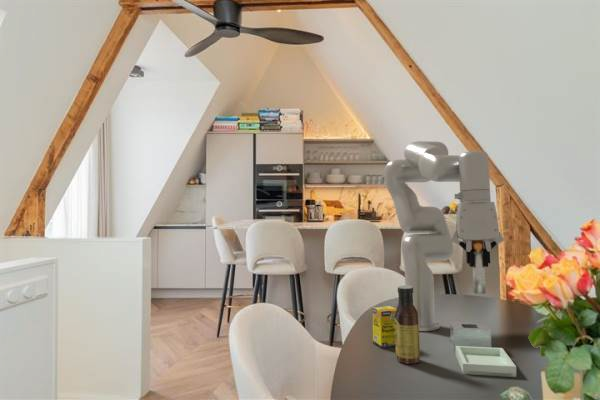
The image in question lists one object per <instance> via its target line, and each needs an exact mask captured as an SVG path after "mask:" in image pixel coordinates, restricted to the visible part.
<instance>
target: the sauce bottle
mask: <svg viewBox="0 0 600 400" xmlns="http://www.w3.org/2000/svg"><path fill="white" fill-rule="evenodd" d="M397 293H398V294H397V295H398V304H397V307H396V309H397V310H396V313H395V341H396V347H395V354H396V359H397V362H400V363H402V364H407V365H414V364H417V363H419V362H420V355H421V346H420V345H421V344H420V343H421V341H420V331H419V322H418V312H417V310H416V308H415V307H414V305H413V287H412V286H405V285H399V286H397Z"/></svg>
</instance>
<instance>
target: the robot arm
mask: <svg viewBox="0 0 600 400" xmlns="http://www.w3.org/2000/svg"><path fill="white" fill-rule="evenodd" d="M403 155H404V158H402V159H395V160H394V159H393V160H391V161H389V162H388V163H387V164H386V165H385V167H384V171H383V173H384V174H383V175H384V183H385V186H386V189H387V191H388V193H389V195H390V197H391V199H392V201H393V204H394V205H393V206H394V208H395V212H396V215H397V220H398V224H399V227H400V230H401V231H403V233H405V234H409V235H407V236H405V237H404V238H403V239H402V241H401V245H400V247H401V248H400V250H401V255H402V258H403V259H402V260H403V266H404V283H405V284H404V286H412V287H413V305H414V307H415V308H416V310H417V312H418V322H419V332H431V331H436V330H438V329H440V328H441V325H440V322H439V321H436V319H435V317H436V315H435V314H436V313H435V311H436V310H435V282H434V280H435V279H434V278H435V277H434V273H433V271H432V269H431V268H430V267H429V264H427V263H429V262H430V263H431V262H443V261H448V260H450V259H451V258H452V257H453V254H454V245H453V243H454V244H456V245H458V246H459V247H461V248H462V249H463V250H464V251H465V259H466V264H468V266H469V267H470V268H472V267H473V266H474V261H473V252H472V247H471V240H483V245H484V265H485V267H486V268H488V267H489V264H491V251H492V250H493V249H494V247H496V245H498V244H500V243H503V242H504V241H505V238H504V237H503V235H502V233H501V231H500V229H499V221H498V220H499V219H498V214H497V207H496V205H495V202H494V201H491V186H490V185H491V183H490V182H491V181H490V164H489V163H490V162H489V155H488V153H487V152H486V151H483V150H471V151H464V152H463V153H461V154H460V155H458V154H457V155H449V149H448V147H447V146H446V144H445V143H444V142H442V141H427V140H426V141H425V140H424V141H423V140H419V141H413V142H409V144H408V145H407V146H406V147H405V149H404V153H403ZM430 181H433V182H435V183H436V182H437V183H438V182H439V183H441V182H443V183H445V182H447V183H448V182H449V183H450V182H451V183H452V182H453V183H454V182H455V183H457V182H459V192H458V193H455V194H454V199H455V200H458V201H460V202H459V203H458V204H457V208H456V221H455V223H456V224H455V225H456V227H455V229H456V230H455V231H454V233H453V235H451V234H450V231H449V227H448V224H447V220H446V218H445V215H444V213H443V211H442V210H441V209H440V208H438V207H436V206H422V205H420V201H419V199H418V196H417V193H416V192H415V191H414V190H413V189H412V188H411V187H410V186H409V185H408V184H406V183H428V182H430ZM463 240H464V241H463ZM491 240H492V241H491Z"/></svg>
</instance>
